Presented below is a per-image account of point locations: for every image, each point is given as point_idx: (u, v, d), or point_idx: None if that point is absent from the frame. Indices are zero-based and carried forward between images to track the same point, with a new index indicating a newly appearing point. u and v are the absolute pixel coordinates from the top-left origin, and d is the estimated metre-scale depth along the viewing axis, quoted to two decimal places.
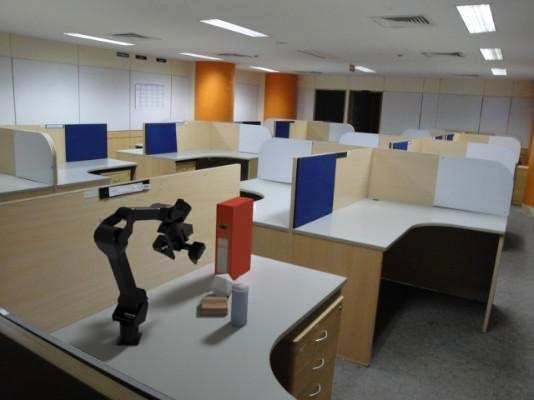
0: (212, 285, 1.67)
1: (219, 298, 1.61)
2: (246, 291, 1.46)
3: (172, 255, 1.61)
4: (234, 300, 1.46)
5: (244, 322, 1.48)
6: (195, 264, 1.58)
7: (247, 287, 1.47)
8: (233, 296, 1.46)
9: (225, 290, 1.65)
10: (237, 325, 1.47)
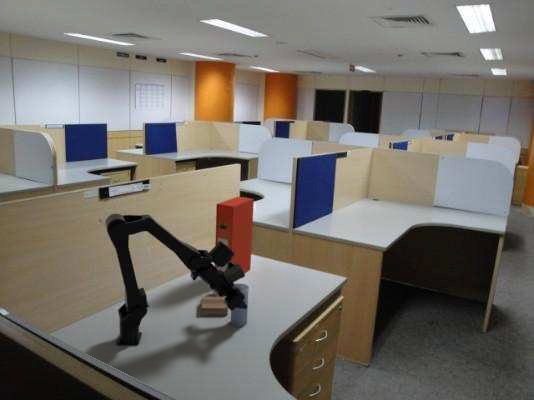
0: None
1: (219, 298, 1.61)
2: (246, 291, 1.46)
3: None
4: None
5: (244, 322, 1.48)
6: None
7: (247, 287, 1.47)
8: None
9: None
10: (237, 325, 1.47)
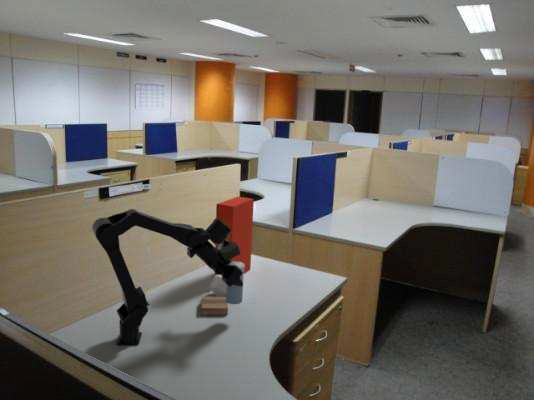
0: (212, 285, 1.67)
1: (219, 298, 1.61)
2: (242, 268, 1.47)
3: None
4: None
5: (240, 299, 1.49)
6: None
7: (243, 264, 1.48)
8: None
9: (225, 290, 1.65)
10: (233, 303, 1.48)
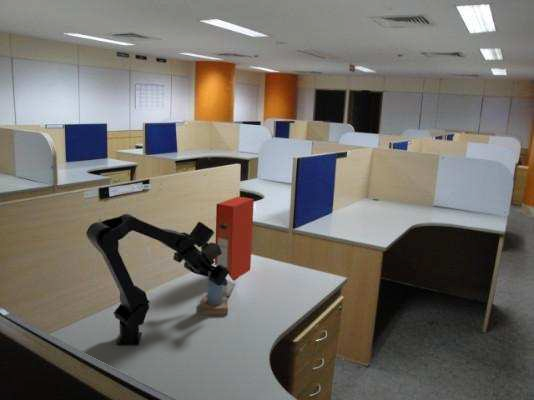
0: None
1: None
2: None
3: (207, 273, 1.59)
4: None
5: (221, 300, 1.57)
6: (224, 285, 1.54)
7: None
8: None
9: (225, 290, 1.65)
10: (216, 304, 1.56)
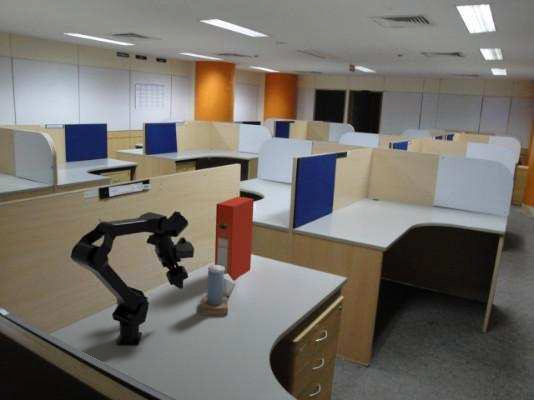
0: None
1: None
2: (223, 271, 1.55)
3: (171, 267, 1.54)
4: (213, 281, 1.54)
5: (221, 300, 1.57)
6: (179, 288, 1.48)
7: (222, 267, 1.56)
8: (211, 277, 1.54)
9: (225, 290, 1.65)
10: (216, 304, 1.56)
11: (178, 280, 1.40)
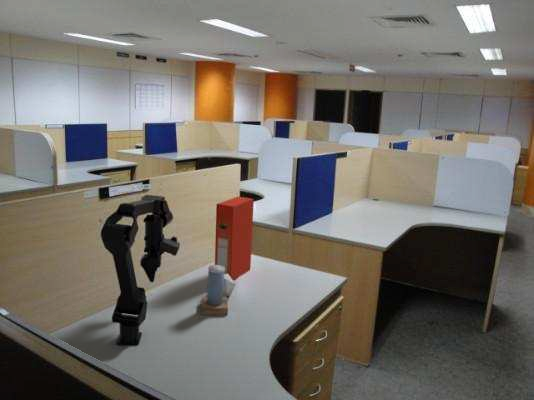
0: None
1: None
2: (223, 271, 1.55)
3: None
4: (213, 281, 1.53)
5: (221, 300, 1.57)
6: (149, 280, 1.46)
7: (223, 267, 1.56)
8: (211, 277, 1.53)
9: (225, 290, 1.65)
10: (216, 304, 1.56)
11: (149, 264, 1.40)
